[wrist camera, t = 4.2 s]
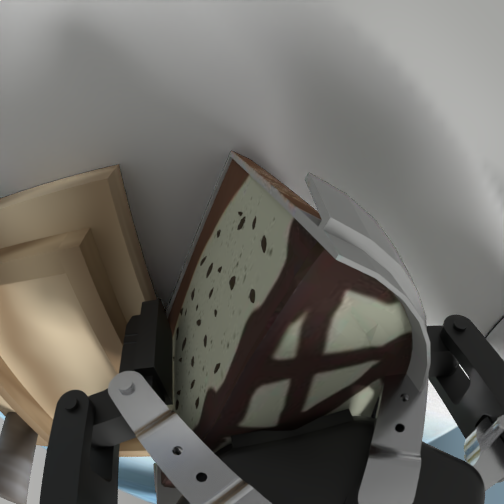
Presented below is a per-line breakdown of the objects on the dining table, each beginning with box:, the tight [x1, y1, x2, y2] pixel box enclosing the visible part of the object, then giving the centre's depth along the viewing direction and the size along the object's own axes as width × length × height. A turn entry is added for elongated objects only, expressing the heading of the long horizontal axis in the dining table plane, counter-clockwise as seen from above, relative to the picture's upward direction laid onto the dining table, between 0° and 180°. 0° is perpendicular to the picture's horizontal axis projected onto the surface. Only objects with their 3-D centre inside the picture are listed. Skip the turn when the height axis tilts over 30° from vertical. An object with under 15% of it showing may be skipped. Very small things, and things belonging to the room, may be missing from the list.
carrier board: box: [0, 164, 157, 504], centre depth 13 cm, size 16×20×9 cm
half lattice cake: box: [154, 150, 431, 504], centre depth 12 cm, size 12×6×10 cm, turn 156°
